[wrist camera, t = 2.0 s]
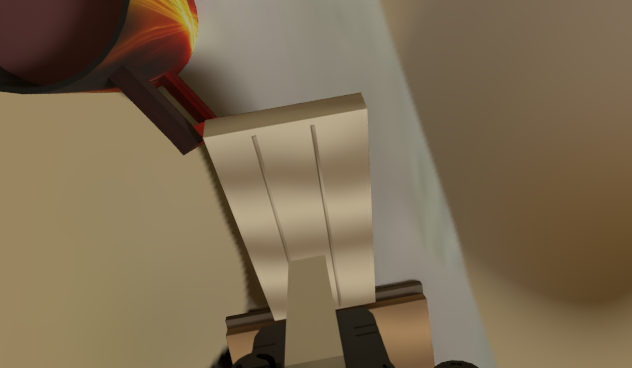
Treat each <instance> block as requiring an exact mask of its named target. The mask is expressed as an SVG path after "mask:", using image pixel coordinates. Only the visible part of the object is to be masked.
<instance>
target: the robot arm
mask: <svg viewBox="0 0 632 368" xmlns="http://www.w3.org/2000/svg"><path fill="white" fill-rule="evenodd" d="M231 368H395V366H394V365H393V364H392V363H391V362H390V360H389V357H388V354H387V351H386V348H385V345H384V343H383V340H382V337H381V334H380V332H379V329H378V326H377V323H376V320H375V317H374V315H373V313H372V312H370V311H369V310H368V309H366V308H365V307H361V308H356V309H350V310H345V311H340V312H335V307H334V301H333V296H332V290H331V285H330V280H329V274H328V269H327V263H326V258H325V255H321V256H315V257H310V258H304V259H299V260H294V261H289V265H288V290H287V316H286V323H281V324H275V325H270V326H265V327H261V329H260V330H259V331H258V333H257V334H256V335H255V337H254V342H253V349H252V353H249V354H247V355H245V356H243V357H241V358H240V359H238V360H237V361H236V362H235V363H234V364H233V365H232V367H231ZM434 368H478V367H477V366H475V365H473V364H471V363H468V362H464V361H454V360H451V361H446V362H442V363H440V364H438V365H437V366H435V367H434Z"/></svg>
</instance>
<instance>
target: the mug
mask: <svg viewBox="0 0 632 368" xmlns="http://www.w3.org/2000/svg"><path fill="white" fill-rule="evenodd" d="M197 33H198V18H197V10H196V5H195V2H194V0H0V91H1V92H9V93H18V94H52V93H53V94H55V93H106V92H123V93H124V94H125V95H126V96H127V97H128V98H129V99H130V100H131V101H132V102H133V103H134V104H135V105H136V106H137V107H138V108H139V109H140V110H141V111H142V112H143V113H144V114H145V115H146V116H147V117H148V118H149V119H150V120H151V121H152V122H153V123H154V124H155V125H156V126H157V127H158V128H159V129H160V130H161V132H162V133H163V134H164V135H165V136H167V138H168V139H169V140H171V142H172V143H173V144H174V145H175V146H176V147H177V149H178V150H179V151H180V152H181V153H182V154H183V155H185V154H187V153H188V152H190V151H192V150H193V149H195V148H197V147H198V146H200V145H202V144H203V143H205V141H204V139H203V134H204V126H205V120H210V119H215V118H218V117H217V116H216V115H215V114H214V113H213V112H212V111H211V110H210V109H209V107H208V106H207V105H206V104H205V103H204V102H203V101H202V100H201V99H200V98H199V97H198V96H197V95H196V94H195V93H194V91H193V90H192V89H191V88H190V87H189V86H188V85H187V84H186V83H185V82H184V81H183V80H182V79H181V78H180V77H179V75H178V74H179V73H180V72H181V70H182V69H183V68H184V67H185V65H186V64H187V63H188V61H189V59H190V57H191V55H192V53H193V51H194V47H195V43H196V39H197ZM162 85H163V86H164V87H165V89H166V90H167V91H168V92H169V93H170V94H171V95H172V96H173V97H174V98H175V99H176V100H177V101H178V102H179V103H180V104H181V105H182V106H183V107H184V108H185V109H186V111H187V112H188V113H189V114H190V115H191V116H192V117H193V118H194V119H195V120H196V121H197V122H198V123H199V124H197V125H194V126H192V125H191V124H190V123H189V122H188V121H187V119H186V118H185V117H184V116H183V115H182V114H181V113H180V112H179V111H178V110H177V109H176V108H175V107H174V106H173V105H172V104H171V103H170V102H169V101H168V100H167V99H166V98H165V97H164V96H163V94H162V93H161V92H160V91H159V90H158V89H157V87H160V86H162Z"/></svg>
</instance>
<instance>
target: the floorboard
mask: <svg viewBox="0 0 632 368" xmlns="http://www.w3.org/2000/svg"><path fill="white" fill-rule="evenodd" d="M375 300H376V302H374V303H368V304H363V305H357V306H352V307H347V308H341V309H336V310H335V312H340V311H345V310H350V309H356V308H361V307H365V308H366V309H368V310H369V311H370V312H372V313H373V315H374V317H375V320H376V323H377V326H378V329H379V332H380V334H381V337H382V340H383V343H384V345H385V348H386V351H387V354H388V357H389V360H390V362H391V363H392V364H393V365H394V366H395V368H434V367H435V364H434V356H433V347H432V339H431V331H430V323H429V315H428V306H427V299H426V297H425V296H424V294H423V289H422V284H421V282H420V281H418V282H412V283H407V284H401V285H396V286H390V287H385V288H380V289H375ZM281 323H286V319H282V320H276V321H275V320H274V317H273V314H272V312H271V309H266V310H260V311H255V312H250V313H244V314H239V315H233V316H228V317H226V325H227V329H228V330H227V334H226V339H227V343H228V347H229V351H230V355H231V358H232V362H233V364H234V363H235V362H236V361H237V360H238V359H240V358H241V357H243V356H245V355H247V354H249V353H252V349H253V342H254V337H255V335H256V334H257V333H258V331H259V330H260V329H261V327H265V326H270V325H275V324H281Z"/></svg>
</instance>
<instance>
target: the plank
mask: <svg viewBox="0 0 632 368" xmlns="http://www.w3.org/2000/svg"><path fill="white" fill-rule="evenodd" d="M203 139H204V141H205V144H206V147H207V149H208V152H209V154H210V157H211V159H212V162H213V164H214V167H215V169H216V172H217V175H218V177H219V180H220V182H221V185H222V187H223V190H224V192H225V195H226V197H227V200H228V203H229V205H230V208H231V210H232V213H233V215H234V218H235V220H236V223H237V225H238V228H239V230H240V233H241V236H242V238H243V241H244V243H245V246H246V248H247V251H248V253H249V256H250V258H251V261H252V264H253V266H254V269H255V271H256V274H257V276H258V279H259V281H260V284H261V286H262V289H263V292H264V294H265V297H266V299H267V302H268V304H269V307H270V309H271V312H272V314H273V317H274V320H275V321H276V320H282V319H286V316H287V290H288V265H289V261H294V260H299V259H304V258H310V257H315V256H321V255H325V258H326V263H327V269H328V274H329V280H330V285H331V290H332V296H333V301H334V307H335V310H336V309H341V308H347V307H352V306H357V305H363V304H368V303H374V302H376V300H375V277H374V254H373V231H372V208H371V185H370V162H369V139H368V116H367V107H366V104H365V102H364V99H363V97H362V95H361V92H360V93H355V94H349V95H344V96H338V97H332V98H327V99H321V100H316V101H310V102H304V103H299V104H293V105H288V106H282V107H277V108H271V109H265V110H260V111H254V112H249V113H243V114H238V115H232V116H226V117H221V118H215V119H210V120H205V126H204V134H203Z"/></svg>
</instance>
